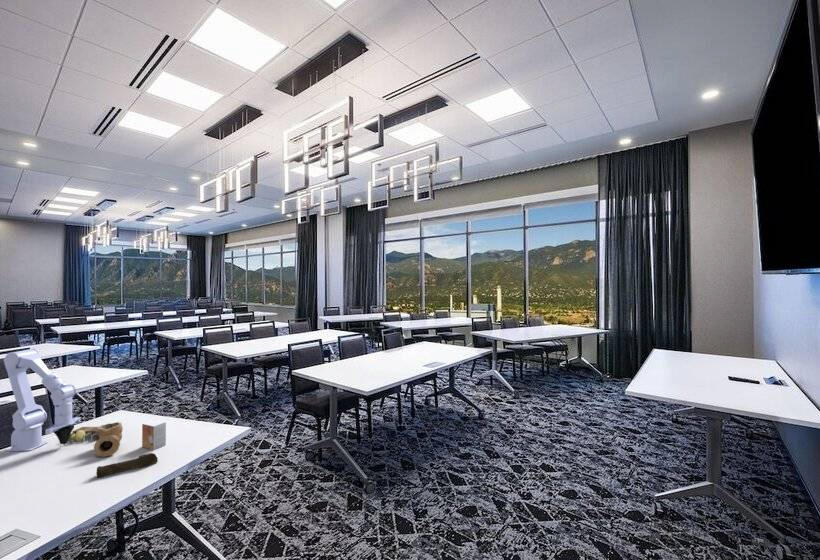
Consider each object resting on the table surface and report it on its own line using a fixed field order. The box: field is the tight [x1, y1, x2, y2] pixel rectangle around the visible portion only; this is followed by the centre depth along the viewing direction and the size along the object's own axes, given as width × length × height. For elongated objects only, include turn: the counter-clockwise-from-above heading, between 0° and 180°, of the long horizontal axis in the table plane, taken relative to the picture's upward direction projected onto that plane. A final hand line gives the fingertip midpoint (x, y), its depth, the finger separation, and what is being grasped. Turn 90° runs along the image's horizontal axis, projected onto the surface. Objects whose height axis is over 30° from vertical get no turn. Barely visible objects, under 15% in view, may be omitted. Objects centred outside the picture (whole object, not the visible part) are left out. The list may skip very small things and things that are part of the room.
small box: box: [141, 419, 167, 451], centre depth 162 cm, size 8×6×10 cm
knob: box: [70, 430, 86, 442], centre depth 168 cm, size 5×5×5 cm
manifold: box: [68, 426, 100, 443], centre depth 171 cm, size 18×9×4 cm, turn 90°
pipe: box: [93, 421, 124, 457], centre depth 159 cm, size 9×16×10 cm, turn 35°
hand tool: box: [96, 452, 159, 479], centre depth 142 cm, size 19×4×5 cm, turn 121°
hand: (63, 443), depth 161 cm, fingers closed
